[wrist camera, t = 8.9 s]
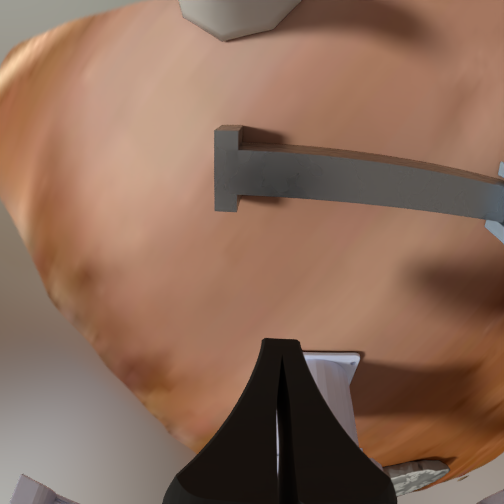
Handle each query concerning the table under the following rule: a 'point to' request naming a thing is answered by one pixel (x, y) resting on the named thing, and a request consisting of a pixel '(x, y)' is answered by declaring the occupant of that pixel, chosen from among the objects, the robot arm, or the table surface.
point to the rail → (347, 178)
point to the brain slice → (415, 474)
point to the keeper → (497, 228)
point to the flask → (236, 15)
